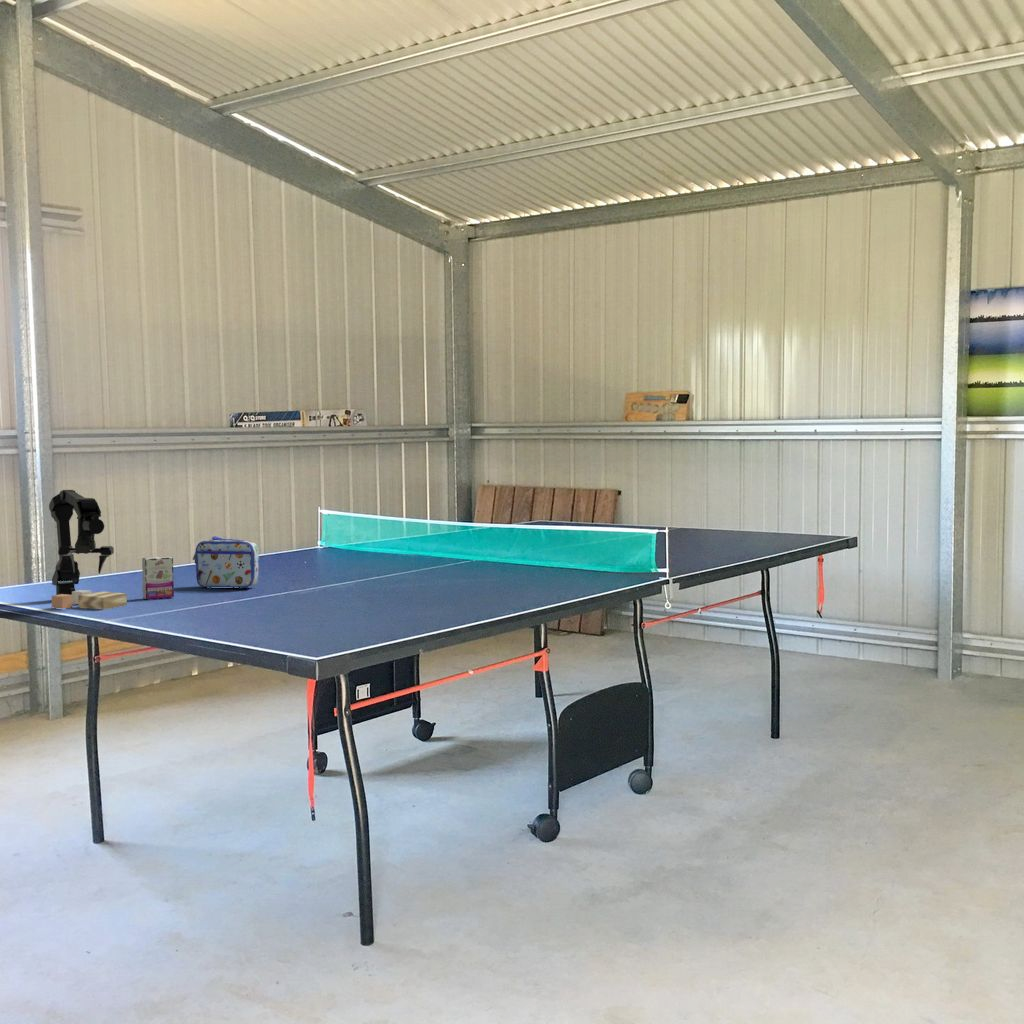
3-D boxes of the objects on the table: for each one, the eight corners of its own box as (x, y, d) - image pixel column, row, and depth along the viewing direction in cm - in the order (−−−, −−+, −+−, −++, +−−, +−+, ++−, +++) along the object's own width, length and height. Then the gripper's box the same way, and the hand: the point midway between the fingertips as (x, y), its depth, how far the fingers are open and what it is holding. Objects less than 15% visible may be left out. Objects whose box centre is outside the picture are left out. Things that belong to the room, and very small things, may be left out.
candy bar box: (170, 596, 432) (169, 556, 431) (174, 598, 428) (173, 557, 427) (141, 598, 426) (141, 557, 425) (145, 600, 422) (145, 558, 421)
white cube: (71, 604, 409) (71, 591, 409) (81, 602, 414) (81, 589, 414) (82, 605, 407) (82, 592, 407) (91, 603, 412) (91, 590, 412)
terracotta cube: (51, 609, 397) (51, 595, 397) (62, 607, 402) (61, 594, 402) (62, 610, 396) (62, 596, 395) (72, 608, 400) (72, 594, 400)
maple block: (78, 608, 401) (78, 595, 401) (102, 604, 412) (102, 591, 412) (103, 611, 397) (103, 597, 396) (126, 606, 408) (126, 593, 407)
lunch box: (190, 588, 456) (189, 537, 454) (199, 585, 466) (199, 535, 465) (253, 590, 453) (252, 538, 452) (261, 587, 463) (261, 536, 462)
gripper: (54, 533, 391) (54, 576, 392) (108, 534, 394) (108, 576, 396) (61, 531, 402) (62, 572, 403) (113, 531, 405) (114, 572, 407)
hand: (86, 573), depth 402 cm, fingers open, 9 cm apart
